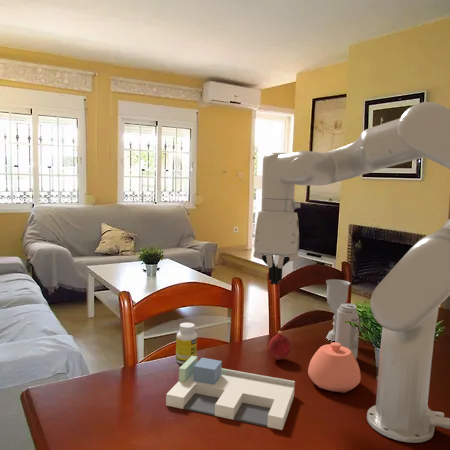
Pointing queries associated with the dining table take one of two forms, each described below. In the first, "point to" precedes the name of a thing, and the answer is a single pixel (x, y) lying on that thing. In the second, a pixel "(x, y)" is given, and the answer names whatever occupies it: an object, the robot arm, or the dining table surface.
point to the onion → (279, 346)
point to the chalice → (336, 300)
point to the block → (207, 370)
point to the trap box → (234, 396)
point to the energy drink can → (347, 327)
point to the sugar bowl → (334, 368)
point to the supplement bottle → (186, 342)
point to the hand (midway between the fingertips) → (275, 283)
